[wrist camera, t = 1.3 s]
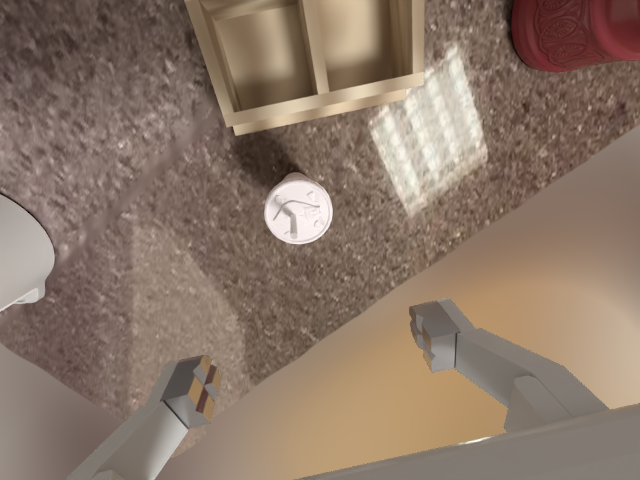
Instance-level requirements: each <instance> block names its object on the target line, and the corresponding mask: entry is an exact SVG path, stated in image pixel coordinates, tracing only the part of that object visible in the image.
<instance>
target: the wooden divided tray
mask: <svg viewBox="0 0 640 480" xmlns="http://www.w3.org/2000/svg"><path fill="white" fill-rule="evenodd" d="M184 1H185V4H186V7H187V10H188V13H189V16H190V19H191V22H192V25H193V28H194V31H195V34H196V37H197V40H198V43H199V46H200V49H201V52H202V55H203V58H204V61H205V64H206V67H207V70H208V73H209V76H210V79H211V82H212V85H213V88H214V91H215V94H216V97H217V100H218V103H219V105H220V108H221V111H222V114H223V117H224V120H225V123H226V126H227V127H231V126H233V129H234V132H235V135H236V136H238V135H242V134H247V133H252V132H256V131H261V130H265V129H270V128H275V127H279V126H284V125H288V124H293V123H298V122H302V121H307V120H311V119H316V118H321V117H325V116H330V115H335V114H339V113H344V112H348V111H353V110H358V109H362V108H367V107H371V106H376V105H381V104H385V103H390V102H394V101H399V100H404V99H406V89H407V88H411V87H416V86H420V85H424V0H184Z"/></svg>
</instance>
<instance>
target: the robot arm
mask: <svg viewBox="0 0 640 480" xmlns="http://www.w3.org/2000/svg"><path fill="white" fill-rule="evenodd" d="M54 261H55V255H54V249H53V246H52V243H51V241H50V239H49V237H48V235H47V233H46V232H45V230H44V229H43V228H42V226H41V225H40V224H39V223H38V222H37V221H36V220H35V219H34V218H33V217H32V216H31V215H30V214H29V213H28V212H27V211H25V210H24V209H23V208H22V207H20V206H19V205H17V204H16V203H14V202H13V201H11V200H10V199H8V198H6V197H4V196H3V195H1V194H0V312H1V311H2V310H4V309H5V308H7V307H9V306H10V305H12V304H21V303H33V302H36V301H38V300H39V299H41V298H43V297H44V295H45V280H46V278H47V277H48V275H49V274H50V272H51V271H52V269H53V266H54ZM409 314H410V316H411V318H412V320H411V322H410V327H411V332H412V335H413V338H414V340H415V342H416V344H417V346H418V347H419V348H421V349H422V350H423V357H424V359H425V361H426V363H427V365H428V367H429V369H430V370H431V372H432V373H434V372H439V371H444V370H449V369H454V368H455V370H457V371H458V372H459V373H461V374H462V375H464V376H465V377H466V378H468V379H469V380H470V381H472V382H473V383H475V384H476V385H477V386H478V387H480V388H481V389H483V390H484V391H485V392H487V393H488V394H489V395H491V396H492V397H493V398H495V399H496V400H498V401H499V402H500V403H502V404H503V405H504V406H506V407H507V408H508V410H507V415H506V419H505V423H504V429H505V430H506V432H507V433H503V434H498V435H494V436H489V437H485V438H480V439H476V440H471V441H466V442H462V443H457V444H453V445H449V446H444V447H439V448H435V449H430V450H426V451H421V452H417V453H412V454H408V455H403V456H399V457H394V458H390V459H386V460H381V461H376V462H372V463H367V464H363V465H358V466H353V467H349V468H345V469H340V470H335V471H331V472H326V473H322V474H317V475H313V476H308V477H304V478H300V479H295V480H640V403H638V404H633V405H629V406H624V407H620V408H616V409H611V410H610V409H609V408H608V407H607V406H606V405H605V404H604V403H602V401H600V400H599V399H598V398H597V397H596V396H595V395H594V394H593V393H592V392H591V391H590V390H589V389H587V387H585V386H584V385H583V384H582V383H581V382H580V381H579V380H578V379H577V378H576V377H575V376H573V374H572V373H570V372H569V371H568V370H567V369H566V368H565V367H564V366H562V365H560V364H558V363H556V362H553V361H551V360H549V359H547V358H544V357H543V356H540V355H538V354H536V353H534V352H531V351H530V350H527V349H525V348H523V347H521V346H519V345H516V344H514V343H512V342H510V341H508V340H505V339H503V338H501V337H499V336H497V335H495V334H492V333H490V332H488V331H486V330H484V329H482V328H479V329H476V328H475V327H474V325H473V324H472V323H471V322H470V321H469V320H468V318H467V317H466V316H465V315H464V314H463V313H462V311H461V310H460V309H459V308H458V307H457V306H456V304H455V303H454V302H453V301H452V300H451V299H450V298H444V299H440V300H436V301H432V302H427V303H423V304H419V305H415V306H411V307H410V308H409ZM211 362H212V359H211V358H210V356H209V355H201V356H197V357H192V358H187V359H182V360H178V361H173V362H169V363H168V364H167V365H166V366H165V367H164V369H163V371H162V373H161V375H160V377H159V379H158V380H157V382H156V384H155V386H154V388H153V390H152V392H151V394H150V396H149V398H148V400H147V401H146V403H145V405H144V406H140V407H139V408H138V409H137V410H136V411H135V412H134V413H133V414H132V415H131V416H130V417H129V418H128V419H127V420H126V421H125V422H124V423H123V424H122V425H121V426H120V427H119V428H118V429H117V430H116V431H115V432H113V433H112V434H111V435H110V436H109V438H107V439H106V440H105V441H104V442H103V443H102V444H101V445H100V446H99V447H98V448H97V449H96V450H95V451H94V452H93V453H92V454H91V455H90V456H89V457H88V458H87V459H86V460H85V461H84V462H83V463H82V464H80V465H79V467H77V468H76V469H75V470H74V471H73V472H72V473H71V474H70V475H69V476H68V477H67V478H66V480H154V479H155V477H156V476H157V475H158V473H159V472H160V470H161V469H162V468H163V466H164V465H165V463H166V462H167V460H168V459H169V458H170V456H171V455H172V453H173V452H174V450H175V449H176V447H177V446H178V445H179V443H180V442H181V440H182V439H183V437H184V436H185V435H186V433H187V432H188V429H190V428H194V427H198V426H202V425H206V424H209V423H211V419H212V416H213V412H214V409H215V405H216V404H215V402H214V398H215V397H216V395H217V394H218V393H219V390H220V386H221V375H220V372H219V370H218V368H217V367H215V366H213V365H211Z"/></svg>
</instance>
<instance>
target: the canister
mask: <svg viewBox="0 0 640 480" xmlns="http://www.w3.org/2000/svg"><path fill="white" fill-rule="evenodd" d="M511 29H512V38H513V43H514V46H515V49H516V51H517V53H518V55H519V57H520V58H521V59H522V61H523V62H524V63H525V64H526V65H528V66H529V67H531V68H533V69H535V70H539V71H547V72H565V71H573V70H577V69H580V68H583V67H586V66H592V65H598V64H605V63H611V62H617V61H637V60H640V0H514V4H513V10H512V20H511Z"/></svg>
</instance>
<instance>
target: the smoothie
mask: <svg viewBox="0 0 640 480" xmlns="http://www.w3.org/2000/svg"><path fill="white" fill-rule="evenodd" d="M264 213H265V220H266V223H267V225H268V227H269V229H270V230H271V232H272V233H273V234H274V235H275V236H276V237H278V238H279V239H281V240H283V241H285V242H288V243H292V244H305V243H309V242H312V241H314V240H316V239H318V238H319V237H320V236H322V235H323V234H324V233H325V231H326V230H327V229H328V227H329V225H330V223H331V220H332V204H331V201H330V197H329V195H328V194H327V192H326V191H325V189H324V188H323V187H322V186H320V185H319V184H318V183H317V182H315V181H312V180H310V179H309V178H307V177H306V176H305V175H304V174H302V173H299V172H293V173H290V174H288V175H287V176H286V177H285V178H284V179H283V180H282V182H280V183H279V184H277V185H276V186H275V187H274V188H273V189H272V190H271V192H270V193H269V194H268V197H267V199H266V202H265V212H264Z"/></svg>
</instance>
